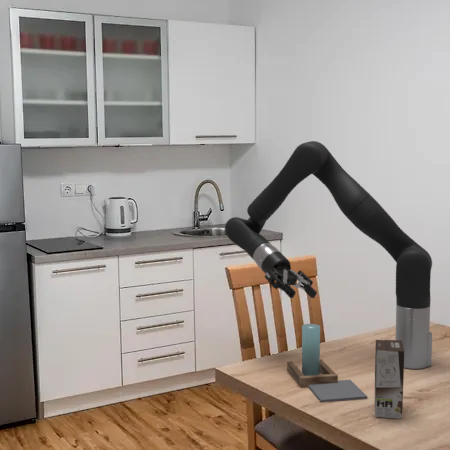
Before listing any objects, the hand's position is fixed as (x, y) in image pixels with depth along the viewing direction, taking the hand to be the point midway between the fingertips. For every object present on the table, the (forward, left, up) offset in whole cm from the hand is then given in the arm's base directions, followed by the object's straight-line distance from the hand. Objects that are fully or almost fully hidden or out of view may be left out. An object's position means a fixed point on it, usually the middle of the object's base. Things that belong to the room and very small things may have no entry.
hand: (304, 295), depth 190 cm
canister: (0, +6, -21) cm, 22 cm away
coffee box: (-11, +32, -21) cm, 40 cm away
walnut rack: (0, +6, -21) cm, 22 cm away
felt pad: (-3, +18, -21) cm, 28 cm away
